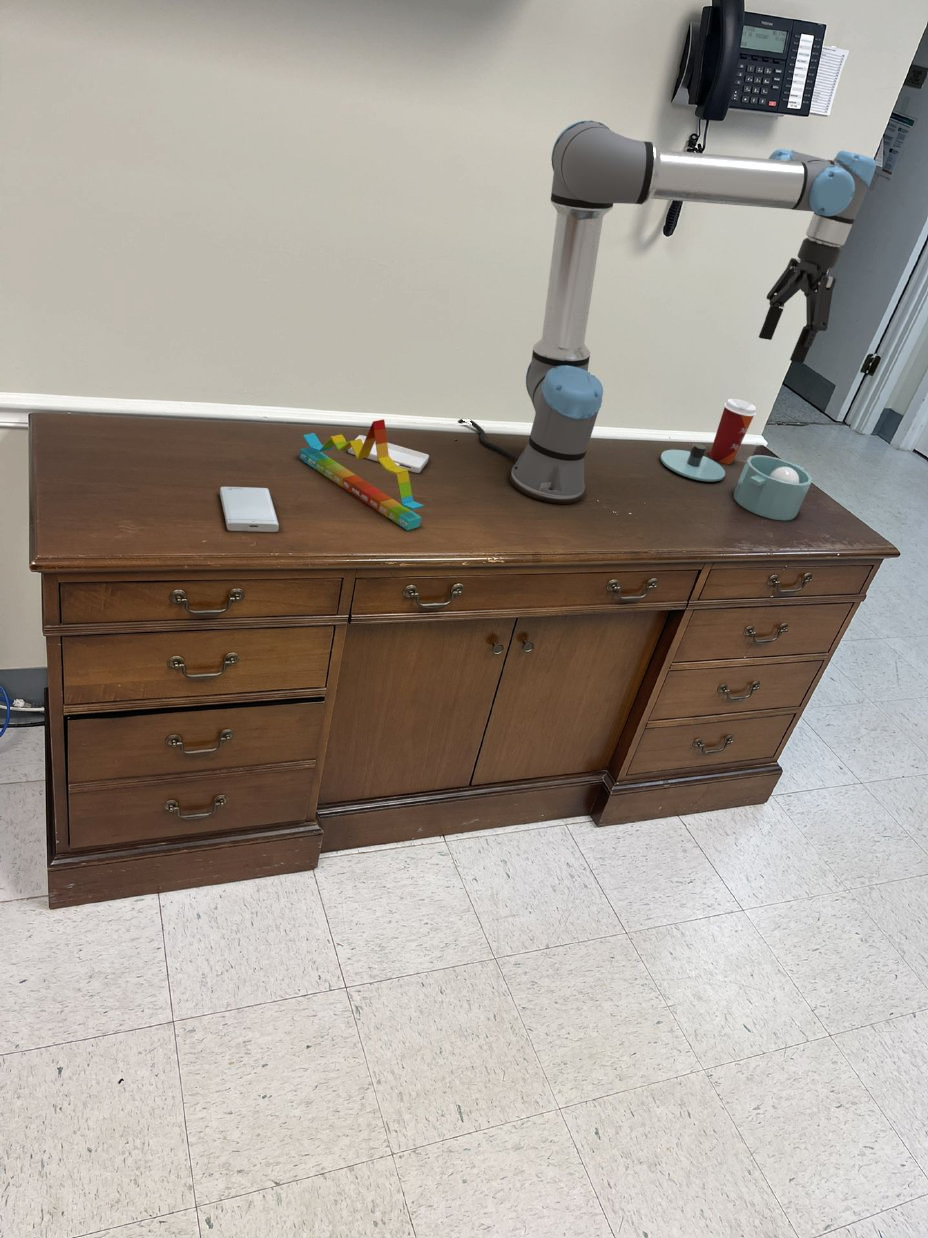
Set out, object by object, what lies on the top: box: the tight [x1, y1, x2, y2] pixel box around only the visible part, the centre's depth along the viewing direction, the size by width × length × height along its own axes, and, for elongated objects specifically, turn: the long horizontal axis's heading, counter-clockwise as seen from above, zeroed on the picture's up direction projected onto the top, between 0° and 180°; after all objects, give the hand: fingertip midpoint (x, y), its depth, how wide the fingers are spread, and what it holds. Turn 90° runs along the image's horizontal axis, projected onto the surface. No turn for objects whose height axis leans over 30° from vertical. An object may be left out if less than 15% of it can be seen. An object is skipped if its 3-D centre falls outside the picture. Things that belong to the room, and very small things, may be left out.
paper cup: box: [709, 398, 757, 465], centre depth 217 cm, size 8×8×14 cm
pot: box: [732, 454, 813, 521], centre depth 200 cm, size 14×20×8 cm
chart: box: [298, 419, 424, 531], centre depth 164 cm, size 30×3×15 cm, turn 47°
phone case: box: [347, 434, 430, 474], centre depth 183 cm, size 7×1×15 cm
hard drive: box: [219, 486, 280, 533], centre depth 153 cm, size 2×8×12 cm
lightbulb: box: [769, 467, 799, 484], centre depth 199 cm, size 6×6×11 cm
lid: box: [659, 442, 726, 483], centre depth 210 cm, size 15×15×6 cm
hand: (780, 349), depth 187 cm, fingers open, 13 cm apart
